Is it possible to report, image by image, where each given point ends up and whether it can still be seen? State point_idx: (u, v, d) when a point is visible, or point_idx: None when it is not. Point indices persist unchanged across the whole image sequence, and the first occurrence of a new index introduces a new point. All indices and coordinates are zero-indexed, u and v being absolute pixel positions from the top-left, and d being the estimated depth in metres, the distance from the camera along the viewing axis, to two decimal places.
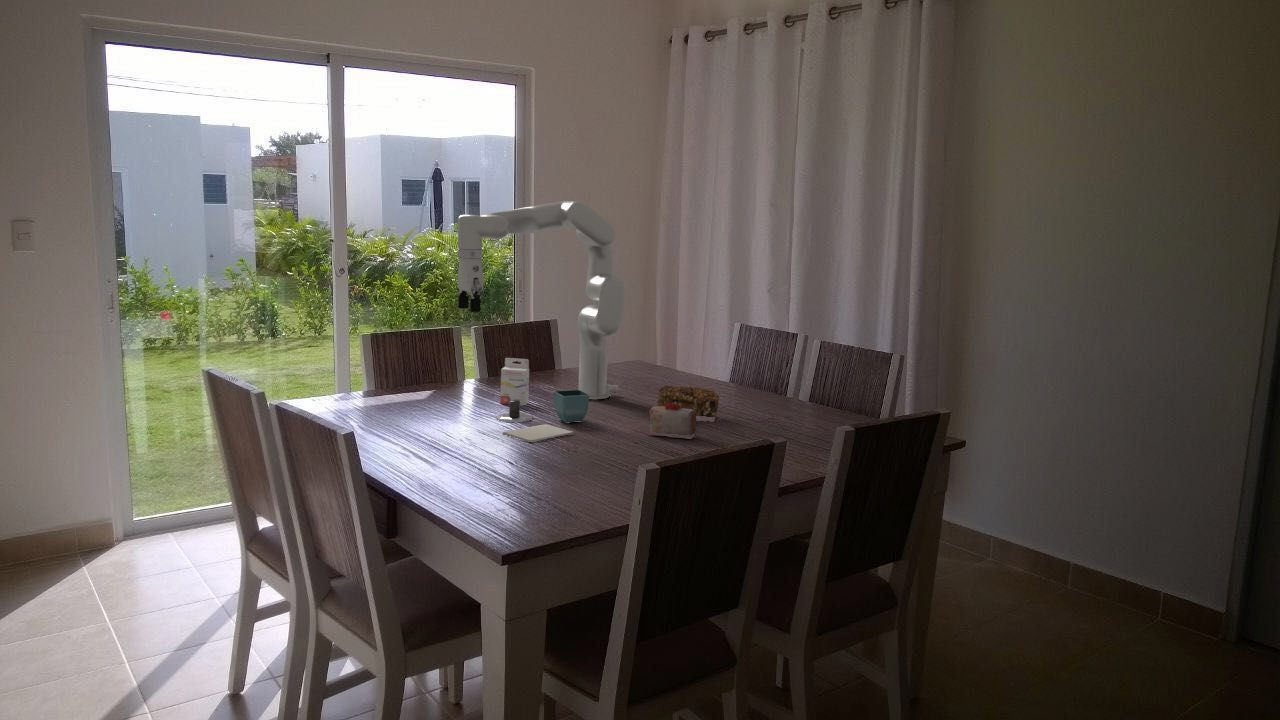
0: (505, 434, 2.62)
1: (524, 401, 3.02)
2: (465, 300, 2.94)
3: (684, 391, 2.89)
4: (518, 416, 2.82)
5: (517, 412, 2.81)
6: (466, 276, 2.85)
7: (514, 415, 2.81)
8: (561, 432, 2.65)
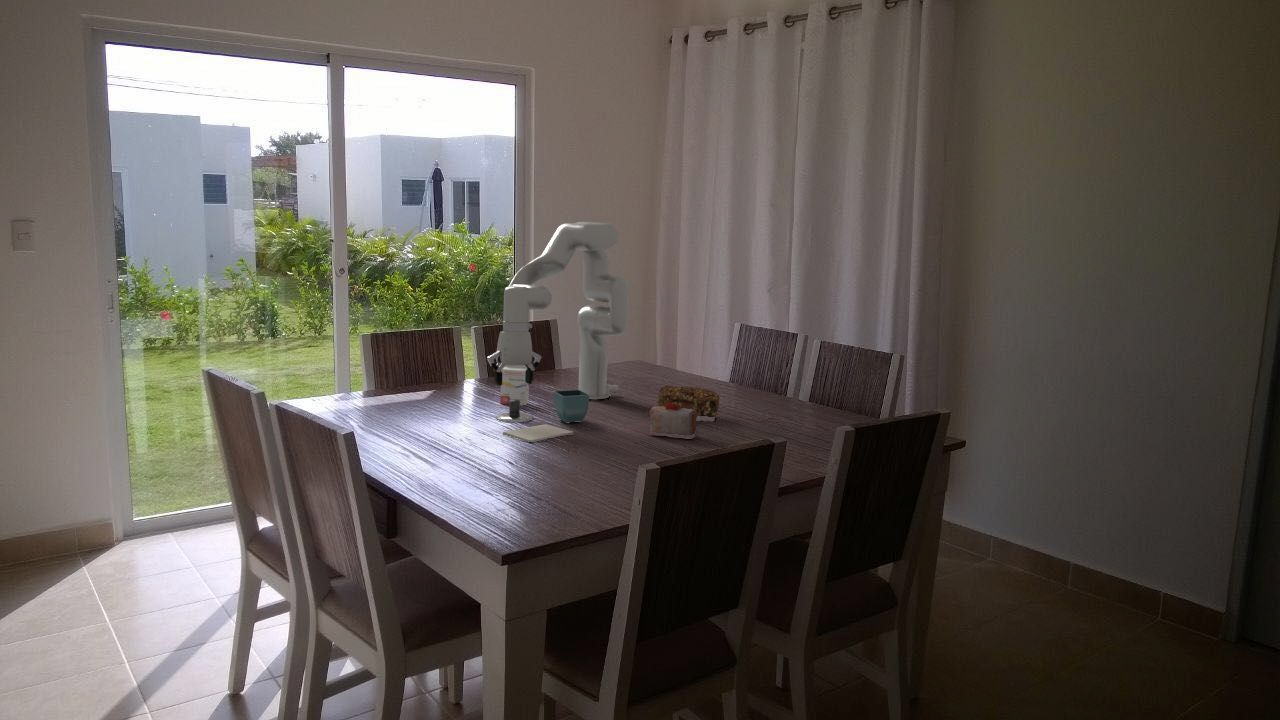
0: (505, 434, 2.62)
1: (524, 401, 3.02)
2: None
3: (684, 391, 2.89)
4: (518, 416, 2.82)
5: (517, 412, 2.81)
6: (527, 349, 2.79)
7: (514, 415, 2.81)
8: (561, 432, 2.65)
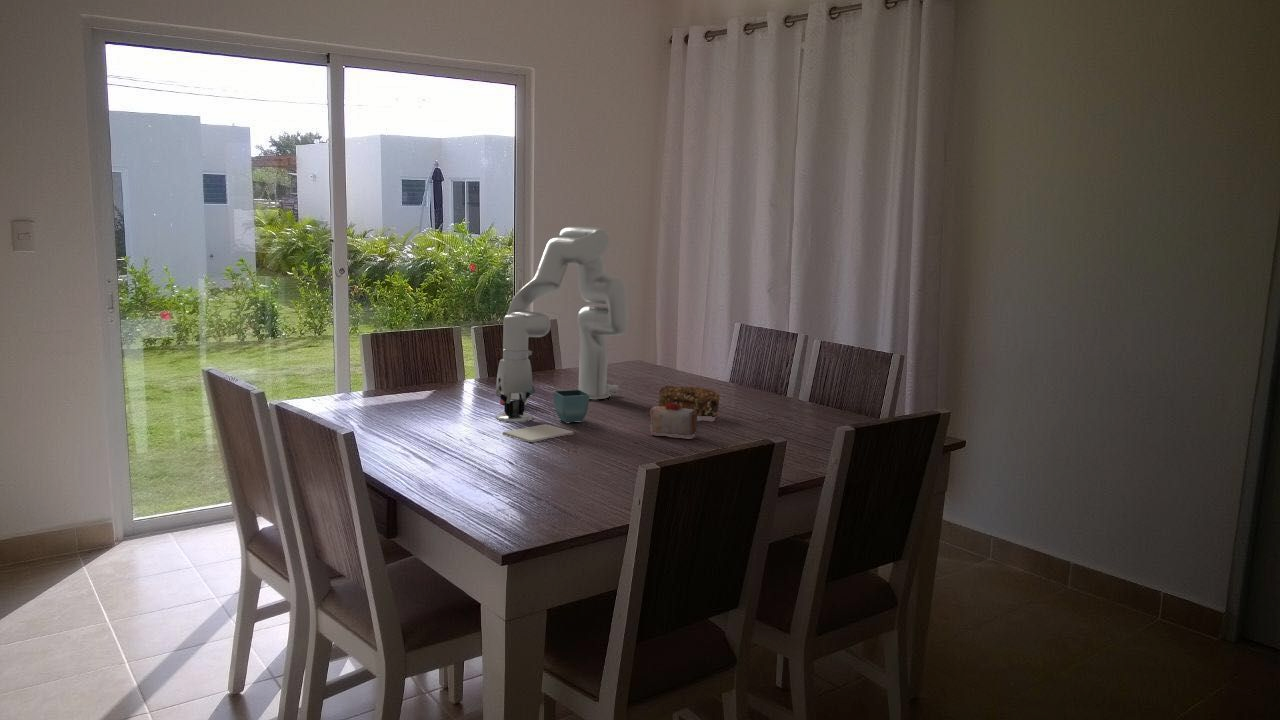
0: (505, 434, 2.62)
1: None
2: None
3: (685, 391, 2.89)
4: (518, 415, 2.82)
5: (517, 411, 2.82)
6: (527, 376, 2.81)
7: (515, 414, 2.81)
8: (561, 432, 2.65)
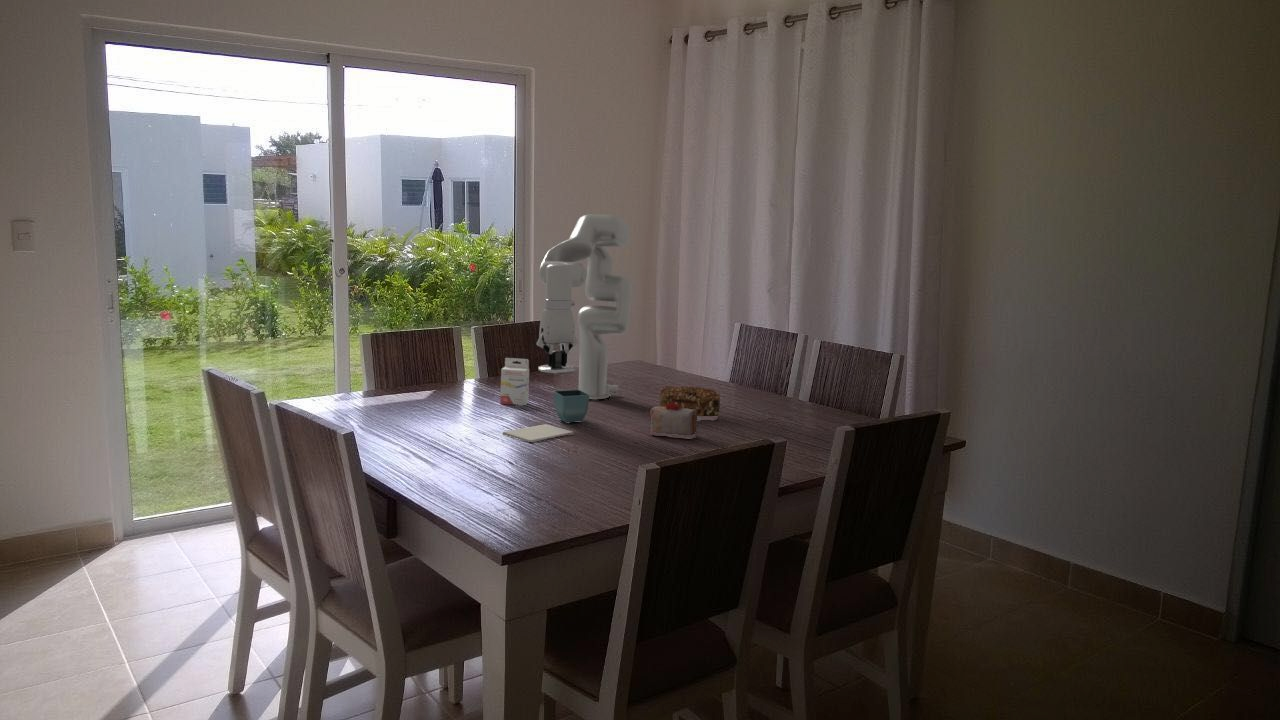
0: (505, 434, 2.62)
1: (524, 401, 3.02)
2: None
3: (687, 391, 2.89)
4: (561, 366, 2.79)
5: (560, 362, 2.78)
6: (570, 327, 2.77)
7: (557, 365, 2.78)
8: (561, 432, 2.65)
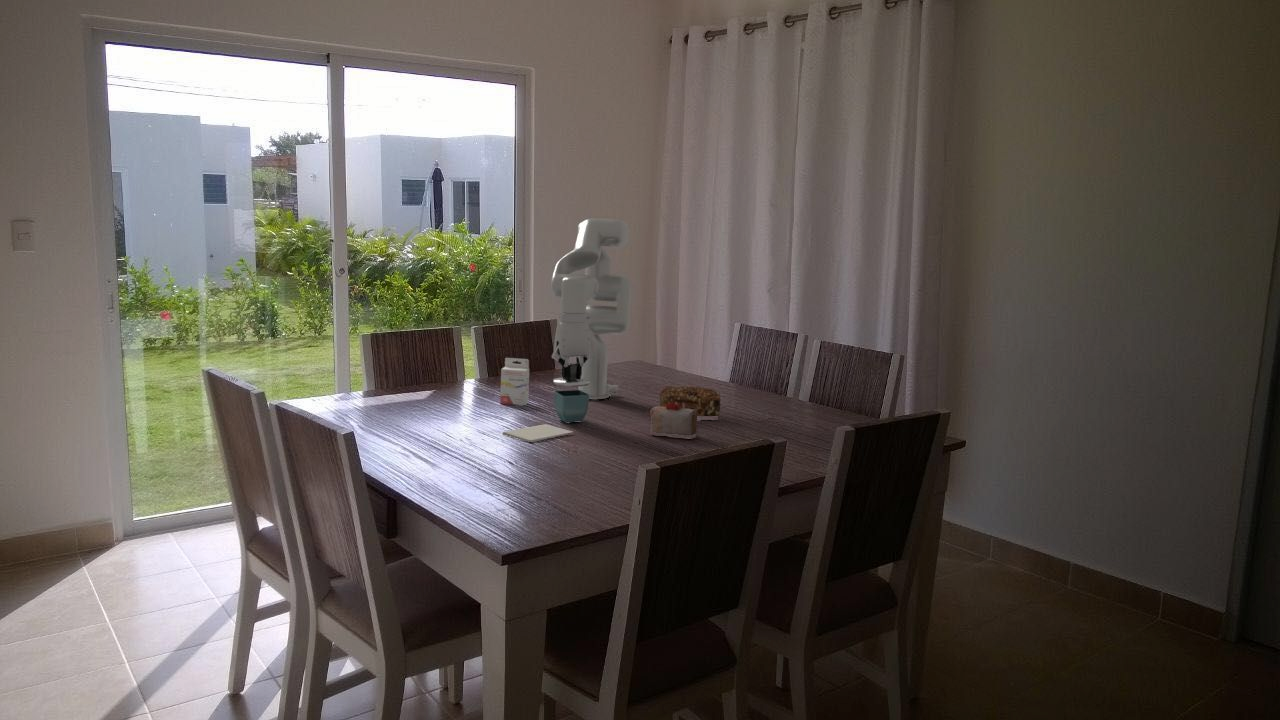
0: (505, 434, 2.62)
1: (524, 401, 3.02)
2: None
3: (687, 391, 2.89)
4: (576, 379, 2.79)
5: (575, 375, 2.78)
6: (585, 340, 2.78)
7: (572, 378, 2.78)
8: (561, 432, 2.65)
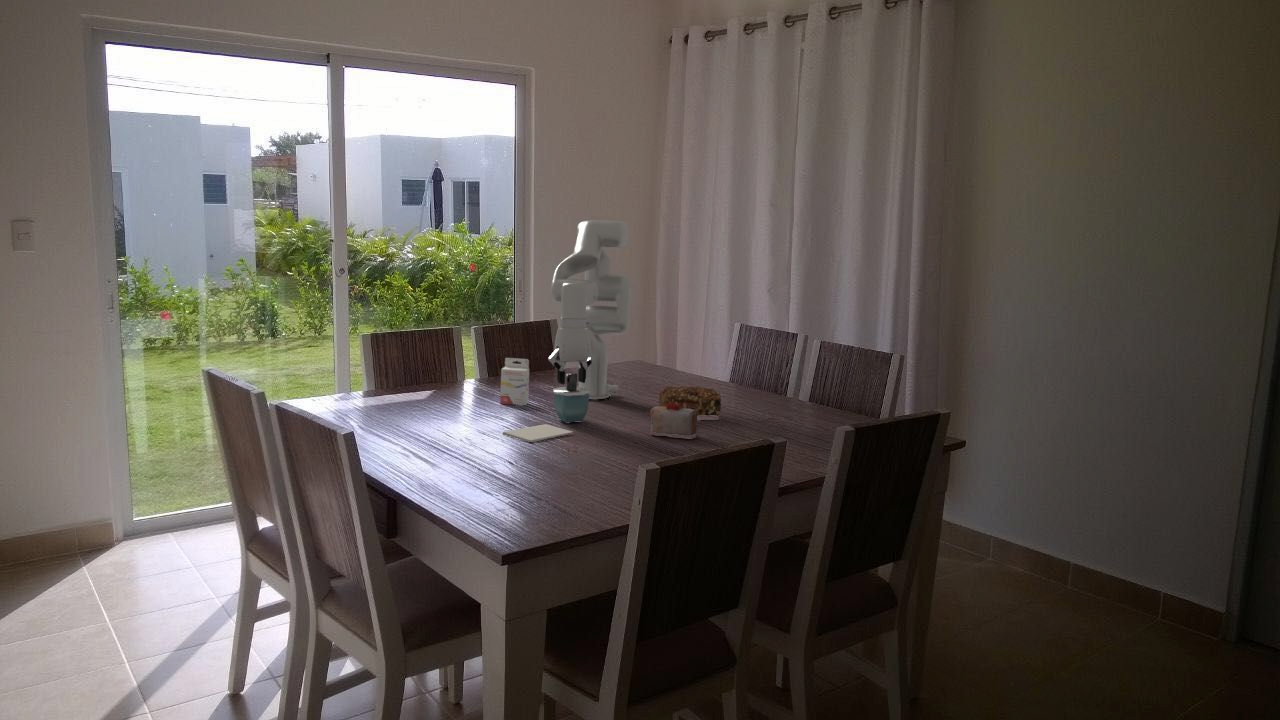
0: (505, 434, 2.62)
1: (524, 401, 3.02)
2: None
3: (688, 391, 2.89)
4: (575, 389, 2.80)
5: (575, 385, 2.79)
6: (585, 345, 2.78)
7: (572, 388, 2.79)
8: (561, 432, 2.65)
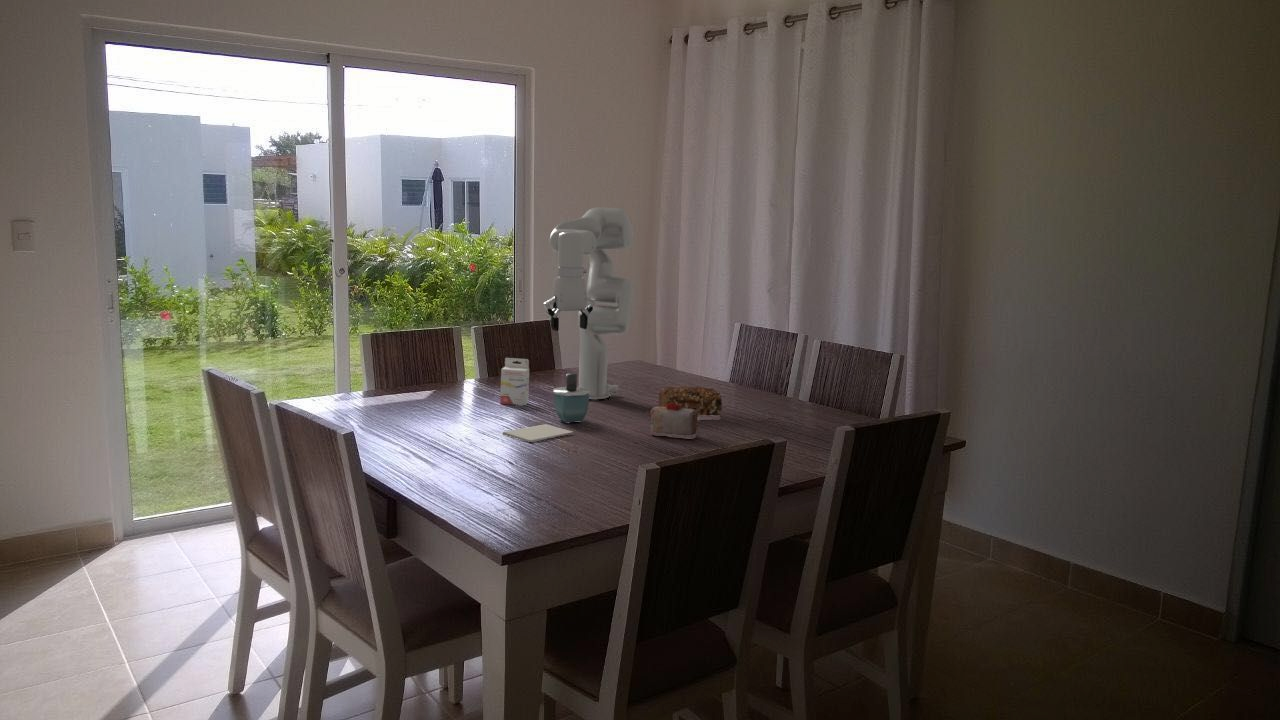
0: (505, 434, 2.62)
1: (524, 401, 3.02)
2: None
3: (689, 391, 2.89)
4: (575, 389, 2.80)
5: (575, 385, 2.79)
6: (582, 294, 2.80)
7: (572, 388, 2.79)
8: (561, 432, 2.65)
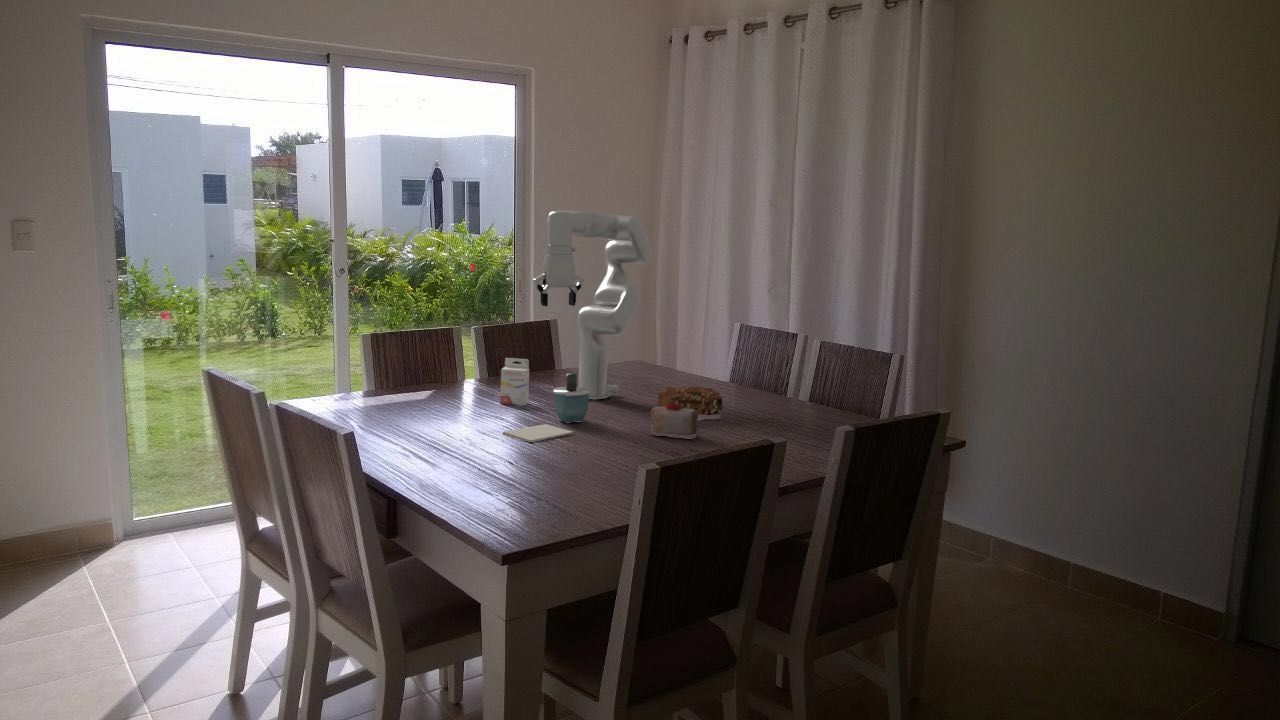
0: (505, 434, 2.62)
1: (524, 401, 3.02)
2: None
3: (691, 391, 2.89)
4: (575, 389, 2.80)
5: (575, 385, 2.79)
6: (571, 272, 2.92)
7: (572, 388, 2.79)
8: (561, 432, 2.65)
